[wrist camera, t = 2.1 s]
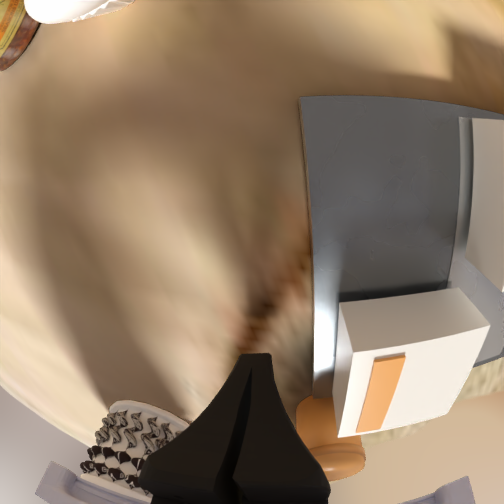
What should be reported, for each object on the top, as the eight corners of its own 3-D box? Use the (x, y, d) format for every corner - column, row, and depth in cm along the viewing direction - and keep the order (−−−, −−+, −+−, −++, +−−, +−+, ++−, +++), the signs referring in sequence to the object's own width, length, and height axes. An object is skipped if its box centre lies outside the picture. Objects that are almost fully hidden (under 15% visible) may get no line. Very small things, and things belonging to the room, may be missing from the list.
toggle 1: (458, 287, 10) (492, 327, 8) (430, 375, 13) (447, 416, 10) (339, 302, 11) (353, 355, 8) (332, 392, 14) (337, 440, 11)
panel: (558, 134, 8) (579, 139, 6) (518, 338, 13) (530, 353, 12) (297, 100, 10) (301, 93, 8) (311, 383, 16) (313, 409, 14)
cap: (359, 386, 16) (373, 452, 11) (351, 420, 17) (359, 477, 13) (294, 393, 16) (294, 461, 12) (295, 425, 18) (294, 484, 13)
